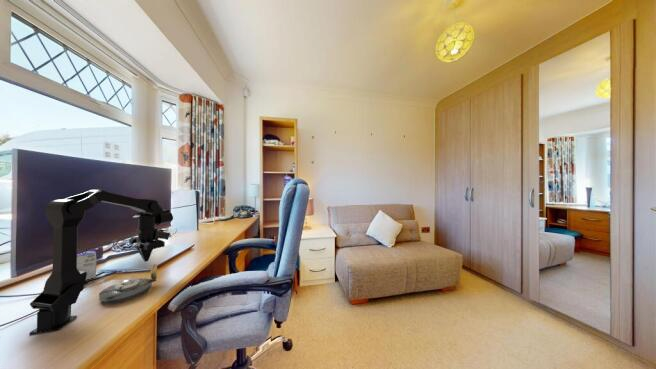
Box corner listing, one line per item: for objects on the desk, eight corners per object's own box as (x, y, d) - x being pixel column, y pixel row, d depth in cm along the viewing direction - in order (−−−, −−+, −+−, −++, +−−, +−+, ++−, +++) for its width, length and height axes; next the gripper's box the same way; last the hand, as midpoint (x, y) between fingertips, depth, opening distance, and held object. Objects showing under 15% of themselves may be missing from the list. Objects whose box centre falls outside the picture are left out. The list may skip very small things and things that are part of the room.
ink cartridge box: (95, 275, 96) (95, 245, 96) (96, 278, 93) (97, 247, 93) (61, 283, 88) (61, 251, 88) (61, 287, 85) (62, 253, 85)
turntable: (104, 306, 69) (105, 285, 69) (94, 294, 77) (94, 275, 77) (163, 285, 84) (164, 268, 84) (149, 277, 92) (150, 261, 92)
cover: (118, 293, 75) (118, 286, 75) (112, 288, 78) (112, 281, 78) (142, 285, 81) (142, 278, 81) (135, 281, 84) (135, 274, 84)
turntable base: (137, 300, 75) (137, 297, 75) (92, 306, 71) (92, 303, 71) (155, 284, 88) (155, 281, 88) (117, 288, 84) (117, 285, 84)
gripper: (178, 225, 92) (177, 259, 92) (158, 222, 100) (157, 252, 100) (148, 230, 82) (147, 267, 82) (128, 226, 90) (128, 259, 90)
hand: (146, 261), depth 89 cm, fingers closed
